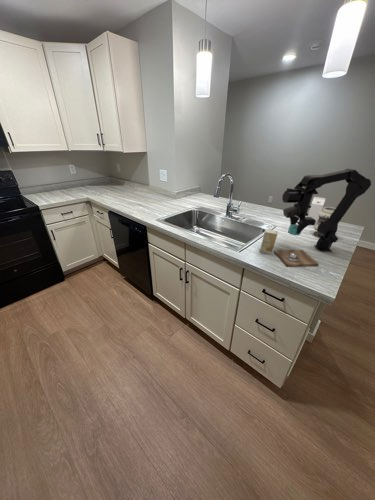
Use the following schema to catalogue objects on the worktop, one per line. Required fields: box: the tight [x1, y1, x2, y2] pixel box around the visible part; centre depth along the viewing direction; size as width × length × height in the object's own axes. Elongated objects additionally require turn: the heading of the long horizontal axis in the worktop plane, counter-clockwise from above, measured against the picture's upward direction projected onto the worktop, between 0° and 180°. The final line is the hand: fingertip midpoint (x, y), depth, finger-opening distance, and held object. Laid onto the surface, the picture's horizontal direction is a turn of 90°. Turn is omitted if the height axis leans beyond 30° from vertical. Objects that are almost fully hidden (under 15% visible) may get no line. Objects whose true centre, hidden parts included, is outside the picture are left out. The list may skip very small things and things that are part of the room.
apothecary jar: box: [312, 206, 336, 239], centre depth 124 cm, size 12×12×18 cm
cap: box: [287, 223, 302, 236], centre depth 106 cm, size 6×6×4 cm
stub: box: [286, 252, 298, 262], centre depth 100 cm, size 5×5×3 cm
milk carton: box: [306, 196, 326, 223], centre depth 144 cm, size 7×7×19 cm
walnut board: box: [273, 249, 320, 268], centre depth 103 cm, size 16×14×1 cm
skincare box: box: [259, 228, 279, 255], centre depth 106 cm, size 6×4×12 cm
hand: (294, 231), depth 106 cm, fingers closed on cap, 6 cm apart
